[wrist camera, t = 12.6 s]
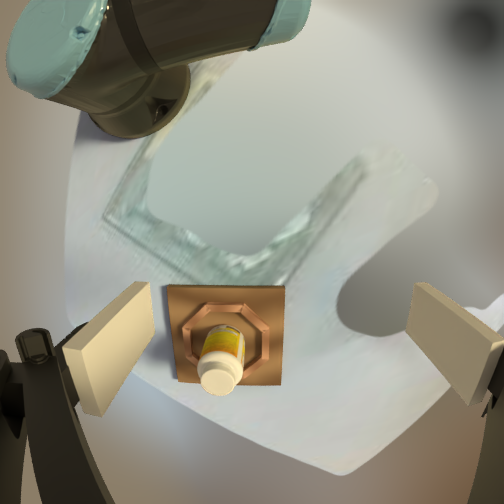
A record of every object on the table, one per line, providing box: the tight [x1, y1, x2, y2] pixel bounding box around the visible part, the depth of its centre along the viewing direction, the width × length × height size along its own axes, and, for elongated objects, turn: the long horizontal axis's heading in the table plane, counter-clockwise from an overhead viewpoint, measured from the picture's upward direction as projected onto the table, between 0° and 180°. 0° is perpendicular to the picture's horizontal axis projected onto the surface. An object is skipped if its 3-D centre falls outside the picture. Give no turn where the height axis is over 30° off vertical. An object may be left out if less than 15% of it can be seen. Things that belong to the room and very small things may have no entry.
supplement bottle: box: [197, 325, 245, 396], centre depth 38 cm, size 6×6×10 cm
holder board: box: [167, 284, 285, 386], centre depth 43 cm, size 16×16×2 cm
